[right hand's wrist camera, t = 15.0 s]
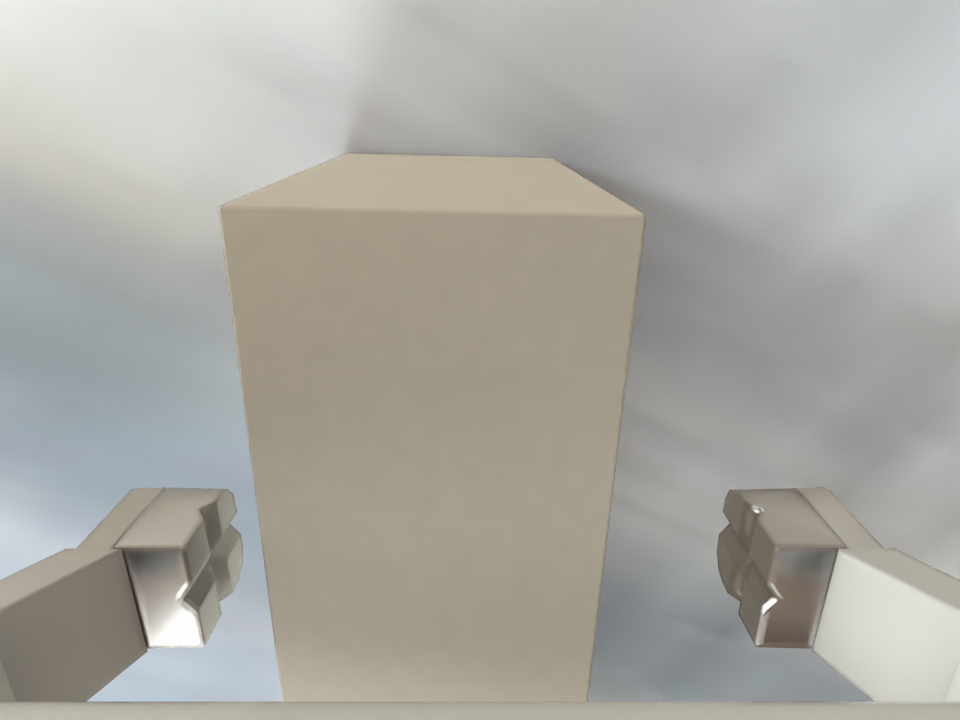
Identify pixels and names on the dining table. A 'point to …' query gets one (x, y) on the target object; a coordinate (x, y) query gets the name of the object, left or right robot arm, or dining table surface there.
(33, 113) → the dining table surface
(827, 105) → the dining table surface
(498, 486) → the bar
